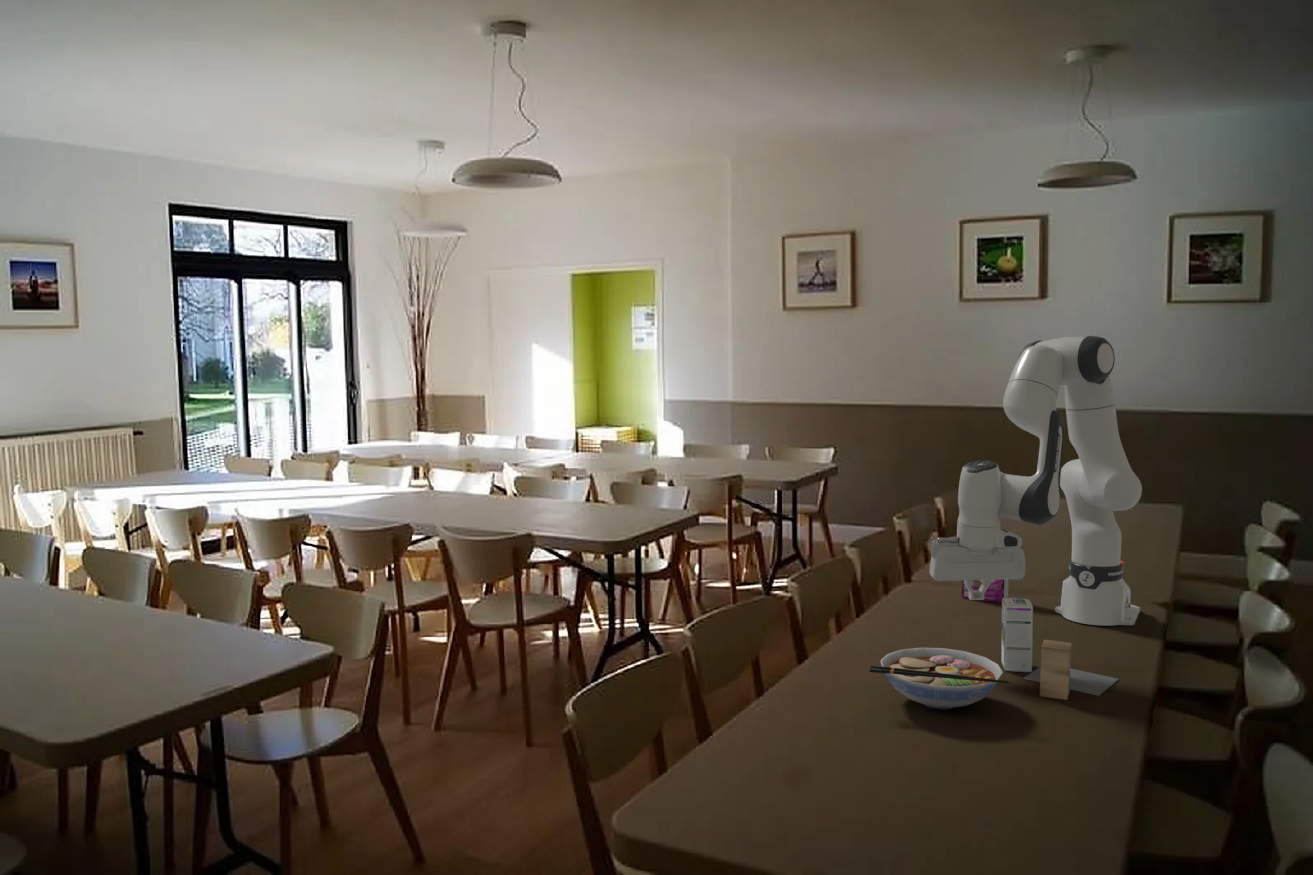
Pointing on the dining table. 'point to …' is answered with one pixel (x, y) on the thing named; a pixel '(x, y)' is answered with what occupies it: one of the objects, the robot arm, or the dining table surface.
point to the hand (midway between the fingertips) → (976, 599)
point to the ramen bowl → (940, 676)
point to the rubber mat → (1081, 681)
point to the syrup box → (1017, 634)
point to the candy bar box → (990, 590)
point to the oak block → (1055, 669)
